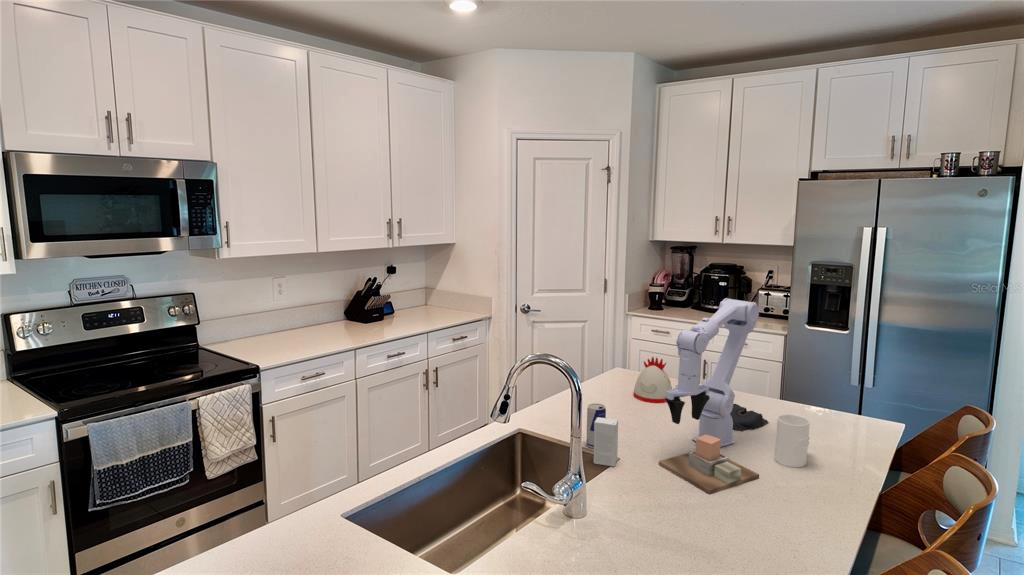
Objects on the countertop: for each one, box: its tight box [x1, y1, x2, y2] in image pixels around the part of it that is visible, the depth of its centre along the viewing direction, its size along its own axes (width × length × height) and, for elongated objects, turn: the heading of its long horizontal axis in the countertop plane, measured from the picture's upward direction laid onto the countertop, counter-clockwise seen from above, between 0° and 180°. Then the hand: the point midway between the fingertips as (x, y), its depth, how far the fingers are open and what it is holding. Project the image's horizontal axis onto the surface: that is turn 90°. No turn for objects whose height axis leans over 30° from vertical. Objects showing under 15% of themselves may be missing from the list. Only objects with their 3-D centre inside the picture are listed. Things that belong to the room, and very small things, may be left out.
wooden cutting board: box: [658, 450, 760, 495], centre depth 155 cm, size 18×18×5 cm
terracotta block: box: [695, 434, 722, 462], centre depth 155 cm, size 4×4×5 cm
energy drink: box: [586, 403, 607, 450], centre depth 170 cm, size 5×5×12 cm
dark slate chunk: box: [730, 403, 769, 433], centre depth 193 cm, size 15×22×5 cm
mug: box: [774, 414, 810, 468], centre depth 162 cm, size 8×12×12 cm
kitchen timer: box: [633, 356, 673, 404], centre depth 212 cm, size 14×14×15 cm
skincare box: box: [593, 417, 619, 467], centre depth 160 cm, size 6×4×12 cm
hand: (685, 420), depth 163 cm, fingers open, 7 cm apart
